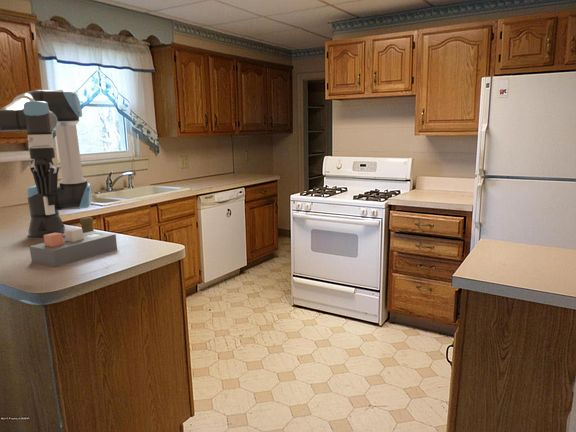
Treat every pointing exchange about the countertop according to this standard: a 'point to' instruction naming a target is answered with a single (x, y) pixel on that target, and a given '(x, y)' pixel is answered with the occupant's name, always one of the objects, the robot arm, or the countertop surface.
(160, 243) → the countertop surface
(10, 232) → the countertop surface
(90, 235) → the cream square button
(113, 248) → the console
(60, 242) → the terracotta button
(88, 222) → the cork
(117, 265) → the countertop surface
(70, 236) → the cream white cube
